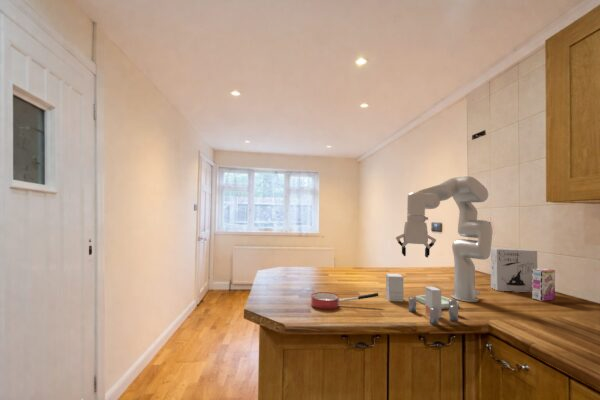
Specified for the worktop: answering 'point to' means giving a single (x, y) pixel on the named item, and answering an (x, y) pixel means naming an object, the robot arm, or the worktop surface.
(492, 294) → the worktop surface
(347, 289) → the worktop surface
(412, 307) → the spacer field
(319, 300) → the frying pan
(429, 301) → the skincare box
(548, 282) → the candy bar box
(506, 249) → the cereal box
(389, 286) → the supplement box
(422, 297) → the tray
